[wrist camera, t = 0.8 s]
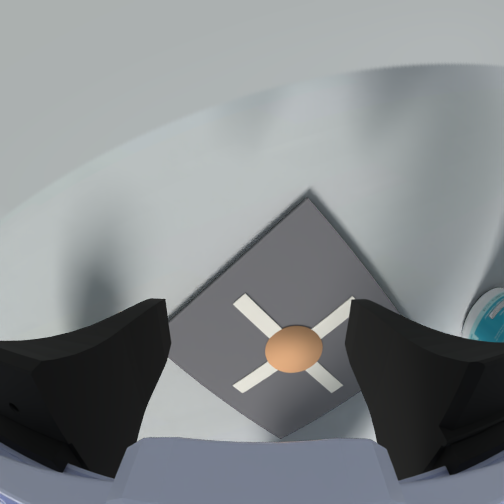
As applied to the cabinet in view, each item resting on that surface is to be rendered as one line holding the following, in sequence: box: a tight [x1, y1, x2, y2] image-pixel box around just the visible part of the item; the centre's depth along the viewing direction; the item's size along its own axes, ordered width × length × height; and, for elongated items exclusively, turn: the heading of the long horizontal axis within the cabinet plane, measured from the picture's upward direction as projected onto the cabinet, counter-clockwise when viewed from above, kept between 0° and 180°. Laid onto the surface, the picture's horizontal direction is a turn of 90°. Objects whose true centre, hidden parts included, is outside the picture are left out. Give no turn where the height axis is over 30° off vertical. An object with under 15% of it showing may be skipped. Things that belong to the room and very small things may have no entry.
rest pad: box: [168, 198, 401, 439], centre depth 22 cm, size 16×16×1 cm
